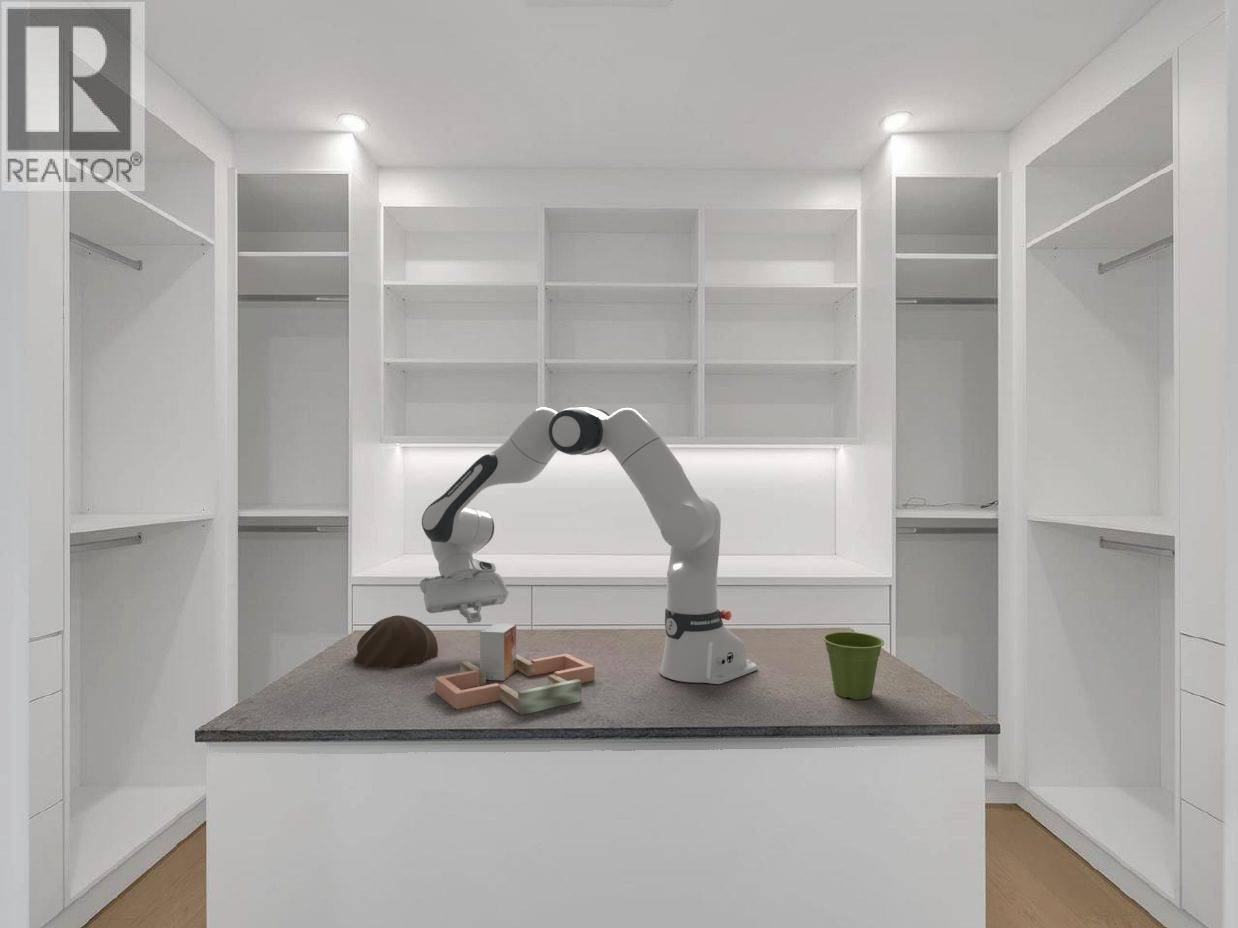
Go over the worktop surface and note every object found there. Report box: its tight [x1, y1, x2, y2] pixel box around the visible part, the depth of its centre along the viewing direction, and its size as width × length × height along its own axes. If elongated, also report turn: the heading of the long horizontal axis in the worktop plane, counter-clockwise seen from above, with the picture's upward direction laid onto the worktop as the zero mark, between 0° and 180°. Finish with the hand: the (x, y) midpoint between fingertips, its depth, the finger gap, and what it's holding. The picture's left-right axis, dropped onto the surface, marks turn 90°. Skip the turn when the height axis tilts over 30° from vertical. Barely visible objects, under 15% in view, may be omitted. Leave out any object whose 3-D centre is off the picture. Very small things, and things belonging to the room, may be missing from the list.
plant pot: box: [822, 631, 885, 701], centre depth 142 cm, size 12×12×11 cm
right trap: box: [530, 653, 596, 684], centre depth 153 cm, size 9×12×3 cm
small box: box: [479, 623, 517, 681], centre depth 154 cm, size 8×6×10 cm
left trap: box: [434, 670, 501, 710], centre depth 141 cm, size 9×12×3 cm
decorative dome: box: [353, 615, 439, 669], centre depth 169 cm, size 19×20×10 cm
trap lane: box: [459, 653, 582, 716], centre depth 147 cm, size 13×30×4 cm, turn 34°
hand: (475, 621), depth 166 cm, fingers closed
